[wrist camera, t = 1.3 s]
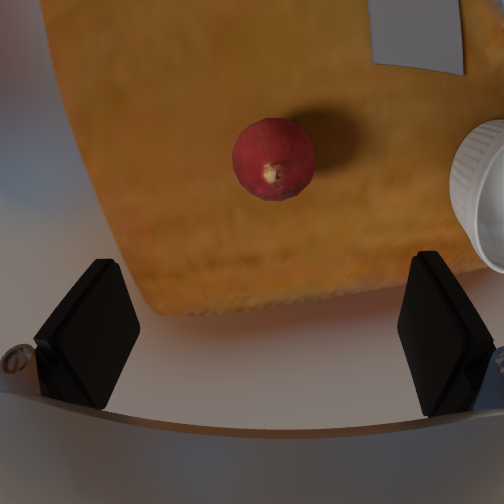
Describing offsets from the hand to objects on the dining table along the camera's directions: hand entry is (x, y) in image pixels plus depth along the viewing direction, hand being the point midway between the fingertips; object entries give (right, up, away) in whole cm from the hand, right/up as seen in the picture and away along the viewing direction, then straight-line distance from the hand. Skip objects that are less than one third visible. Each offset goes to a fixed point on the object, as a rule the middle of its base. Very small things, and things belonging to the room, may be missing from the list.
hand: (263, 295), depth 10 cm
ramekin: (+23, +9, +14) cm, 28 cm away
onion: (+2, +10, +15) cm, 18 cm away
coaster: (+13, +19, +8) cm, 25 cm away
